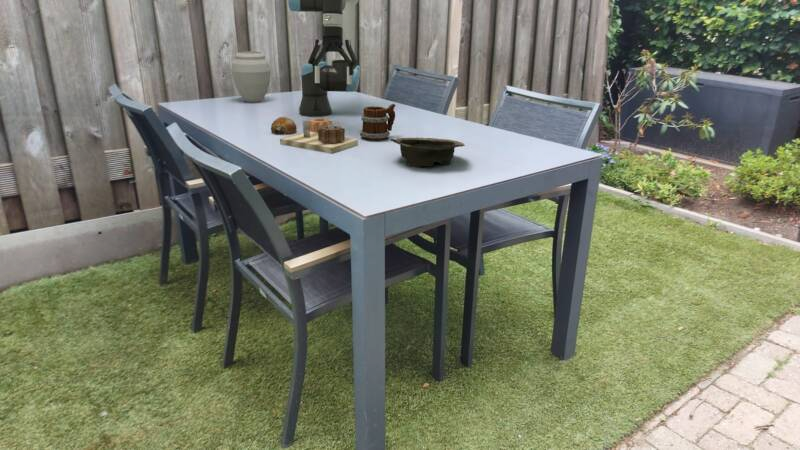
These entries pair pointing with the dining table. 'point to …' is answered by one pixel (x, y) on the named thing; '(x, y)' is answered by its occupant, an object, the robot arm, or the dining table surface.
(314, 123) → the gear
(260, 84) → the vase
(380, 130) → the mug
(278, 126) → the bread roll
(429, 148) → the stone bowl
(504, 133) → the dining table surface
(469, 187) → the dining table surface
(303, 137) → the peg board
